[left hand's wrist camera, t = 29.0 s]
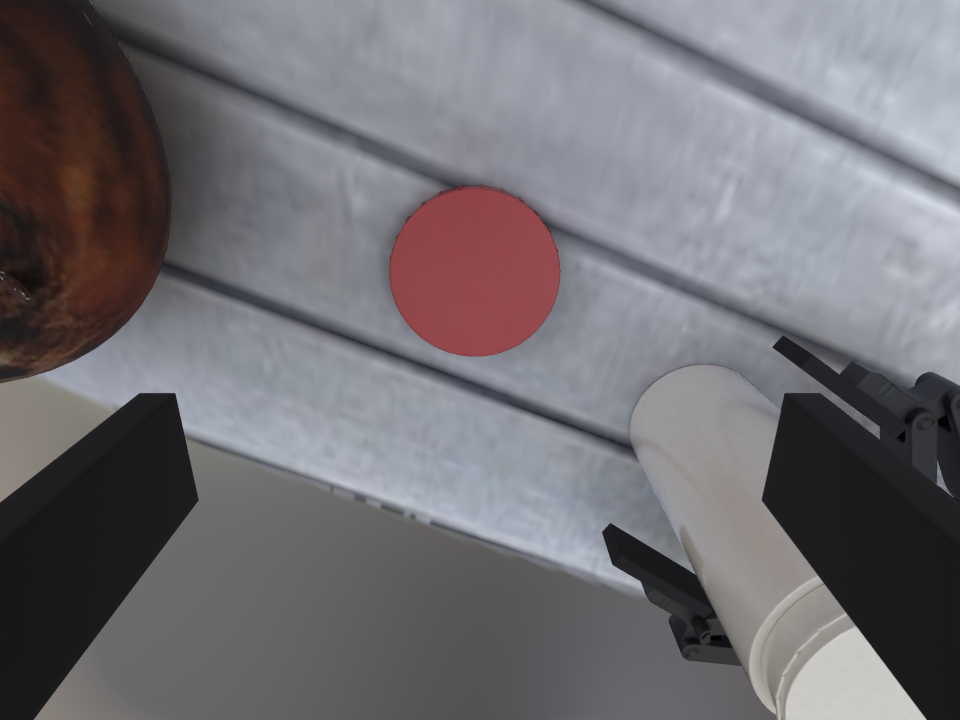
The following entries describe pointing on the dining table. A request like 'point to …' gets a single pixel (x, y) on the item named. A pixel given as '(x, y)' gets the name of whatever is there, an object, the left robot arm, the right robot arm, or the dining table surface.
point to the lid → (474, 271)
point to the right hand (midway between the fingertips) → (694, 452)
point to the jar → (754, 550)
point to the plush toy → (73, 186)
